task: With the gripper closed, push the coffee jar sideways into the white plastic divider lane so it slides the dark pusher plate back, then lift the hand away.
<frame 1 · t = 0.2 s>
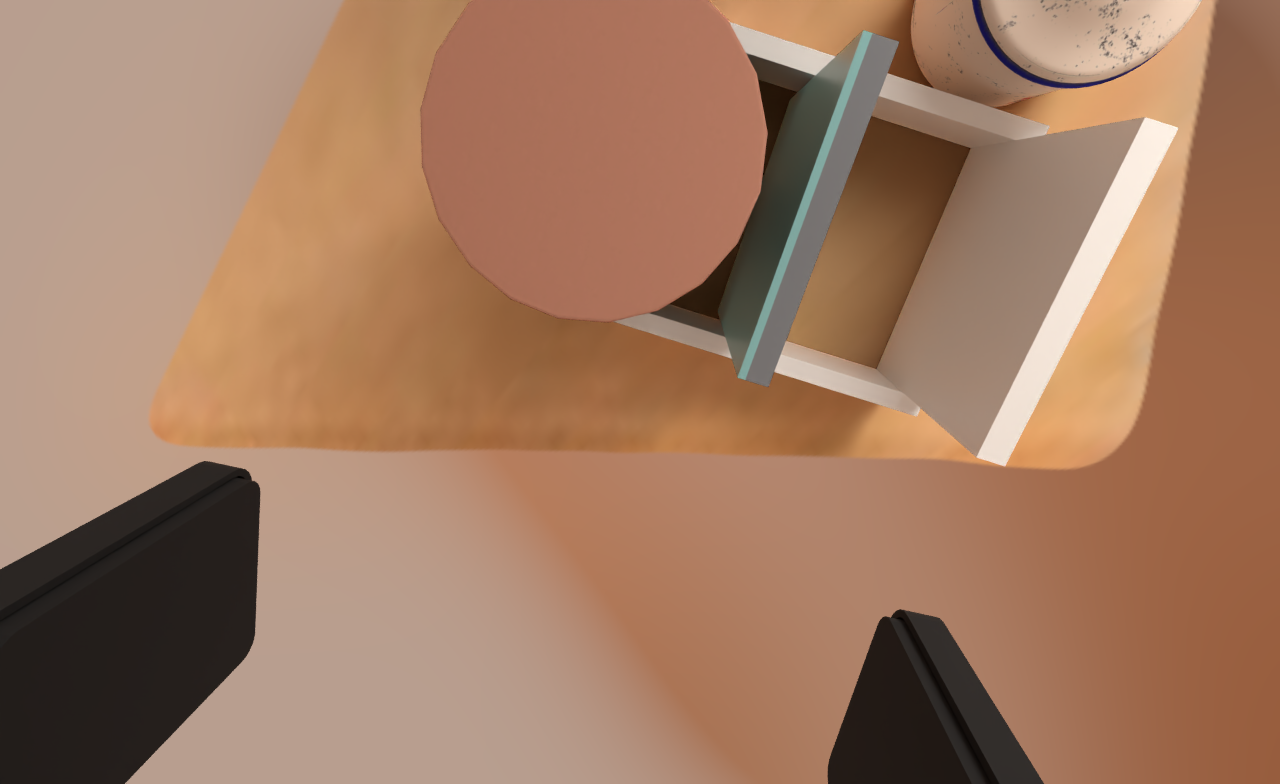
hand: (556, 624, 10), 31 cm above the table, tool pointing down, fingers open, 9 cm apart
lane: (796, 224, 37), on the table
pusher plate: (781, 216, 30), point 8 cm above the table, slide at 0.0 cm
coffee jar: (634, 172, 37), on the table
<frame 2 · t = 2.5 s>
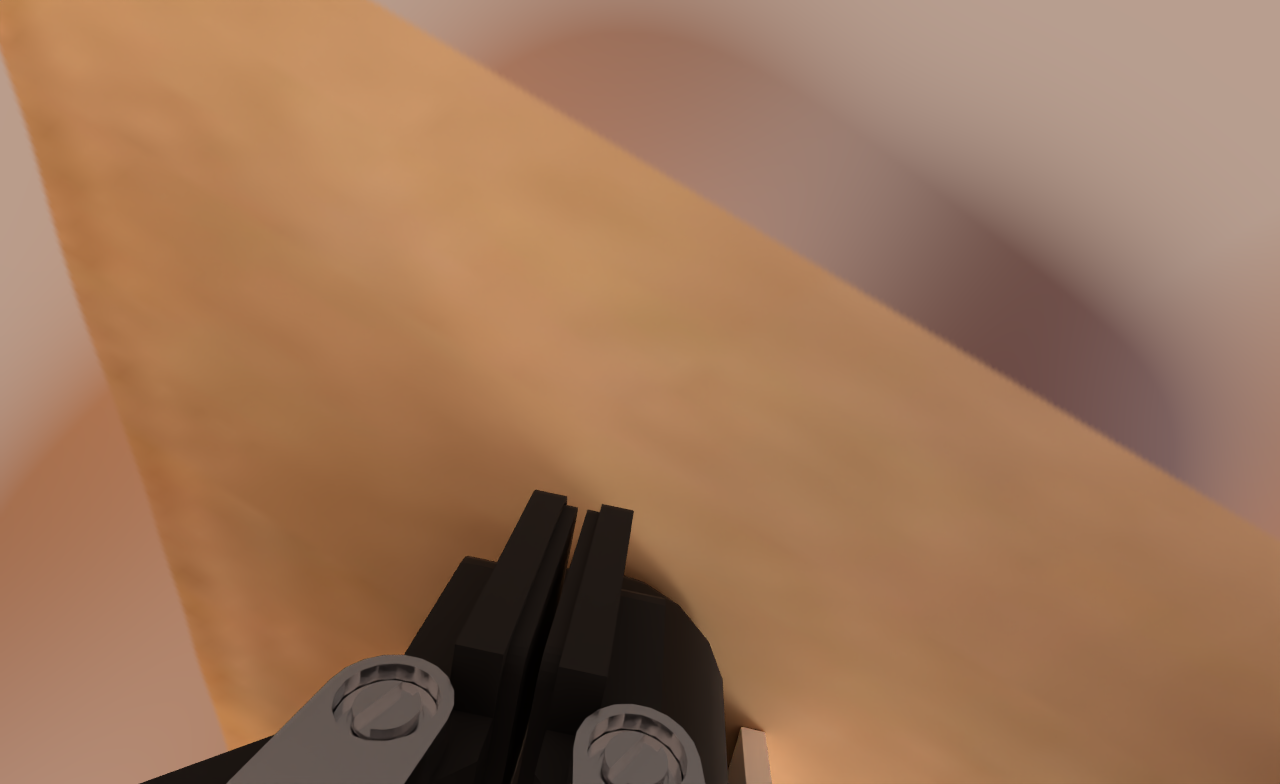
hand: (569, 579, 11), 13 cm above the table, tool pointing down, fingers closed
coffee jar: (591, 667, 27), on the table
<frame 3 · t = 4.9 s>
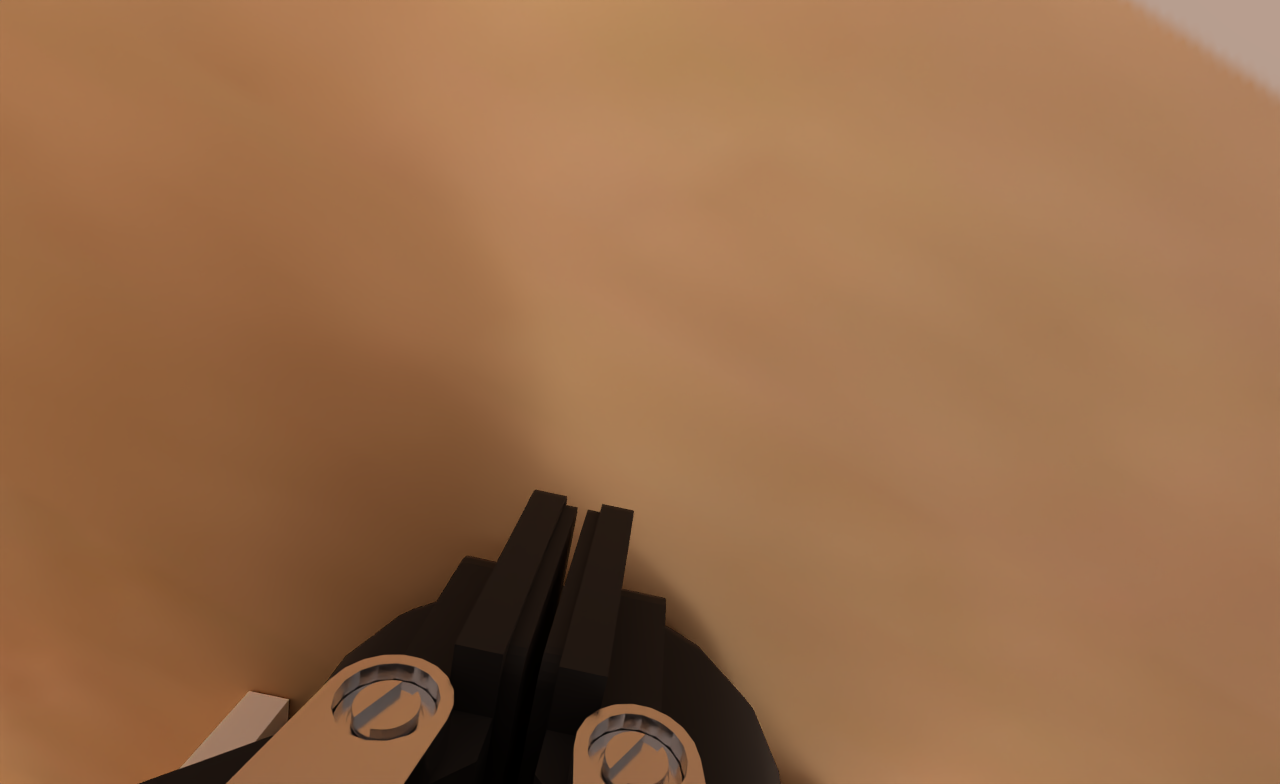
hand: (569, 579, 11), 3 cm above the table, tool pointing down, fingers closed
coffee jar: (551, 746, 16), on the table, touching gripper
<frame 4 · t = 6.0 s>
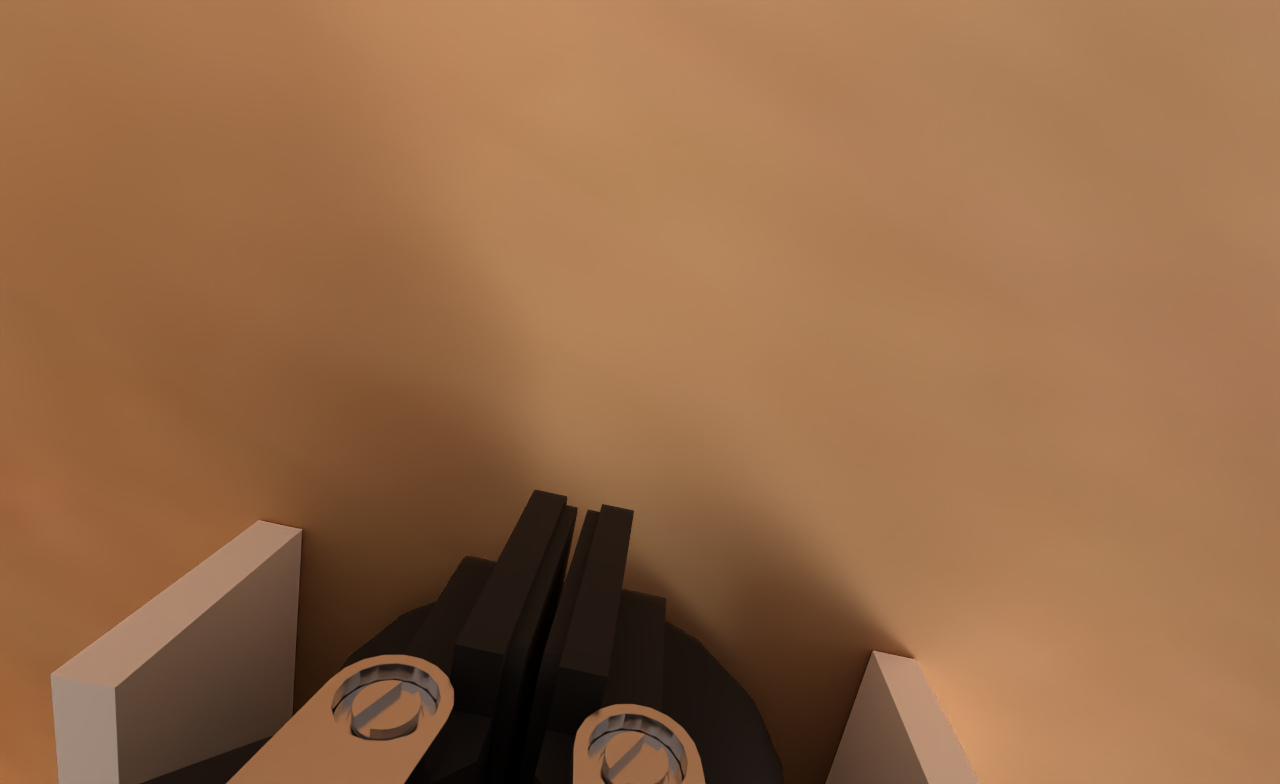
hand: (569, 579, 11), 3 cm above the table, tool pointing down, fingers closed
coffee jar: (556, 744, 16), on the table, touching gripper, pusher plate
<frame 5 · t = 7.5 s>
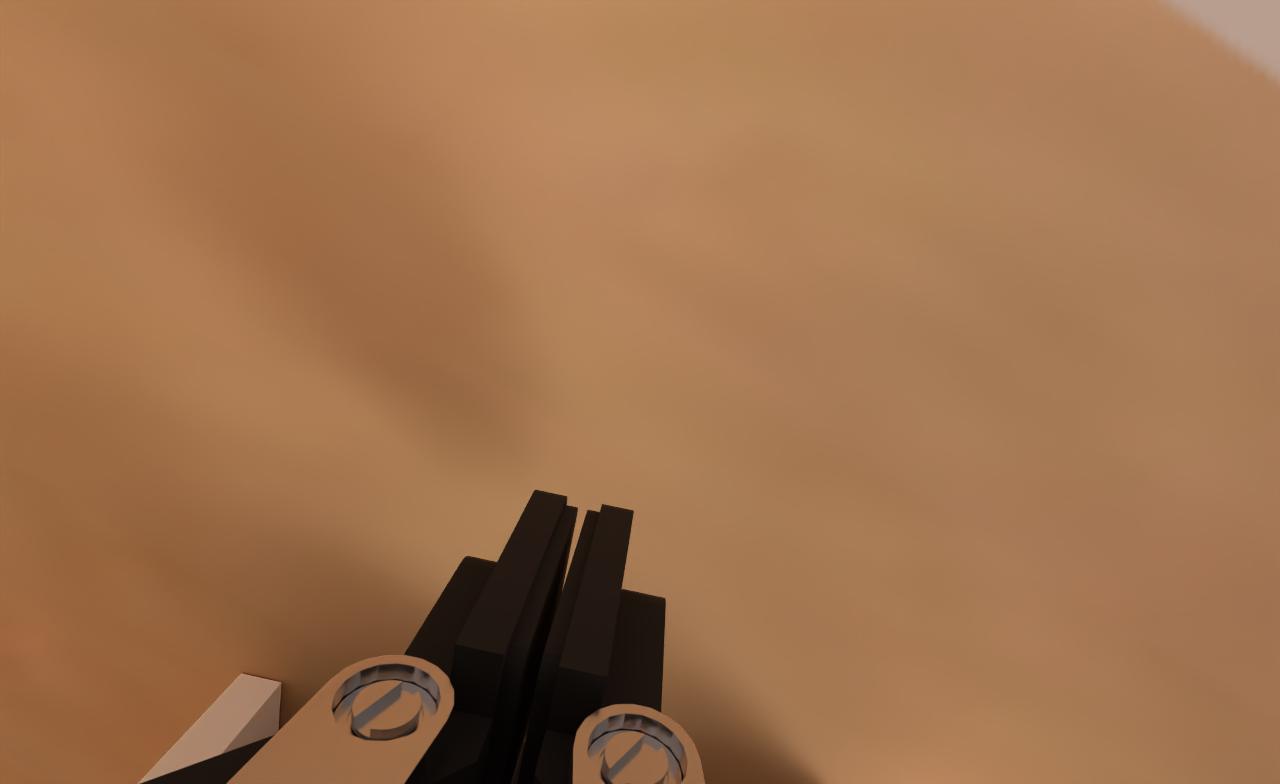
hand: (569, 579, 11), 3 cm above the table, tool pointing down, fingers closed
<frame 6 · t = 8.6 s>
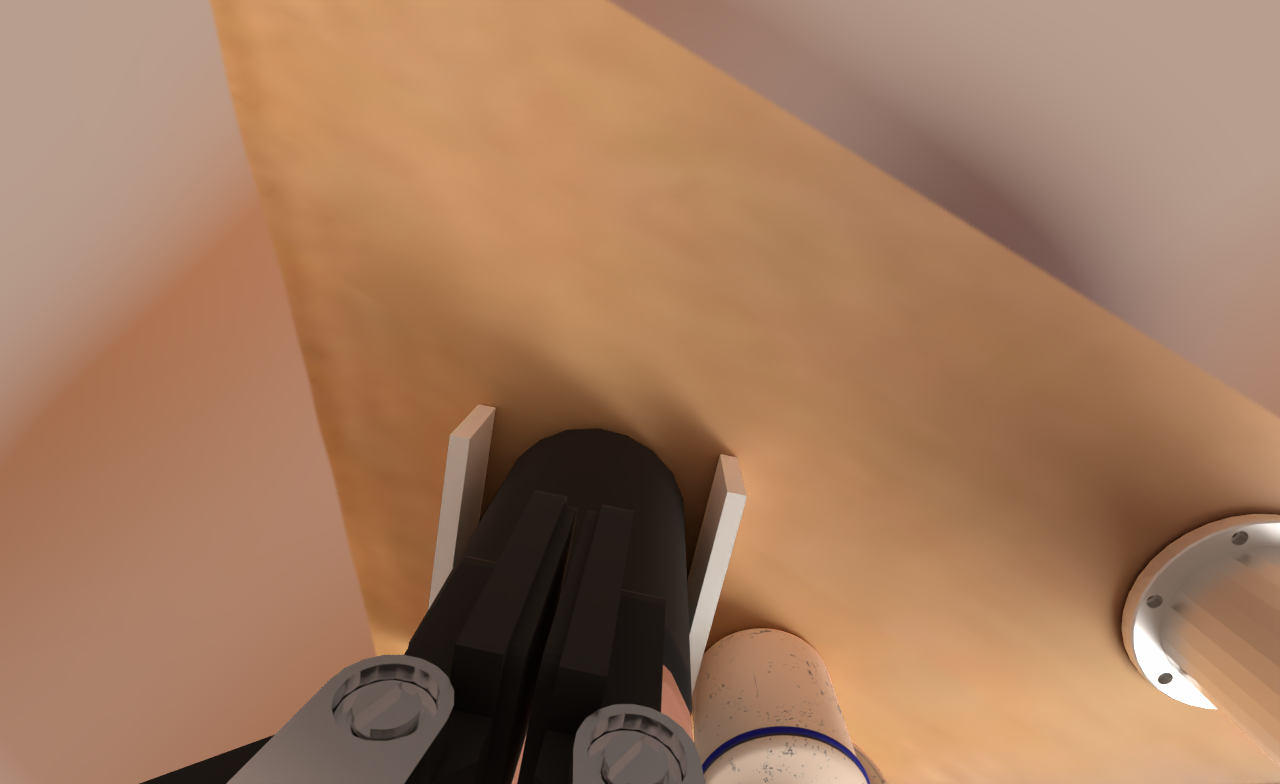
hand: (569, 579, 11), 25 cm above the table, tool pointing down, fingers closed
lane: (581, 562, 40), on the table
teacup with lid: (779, 689, 42), on the table
coffee jar: (594, 504, 39), on the table, touching pusher plate
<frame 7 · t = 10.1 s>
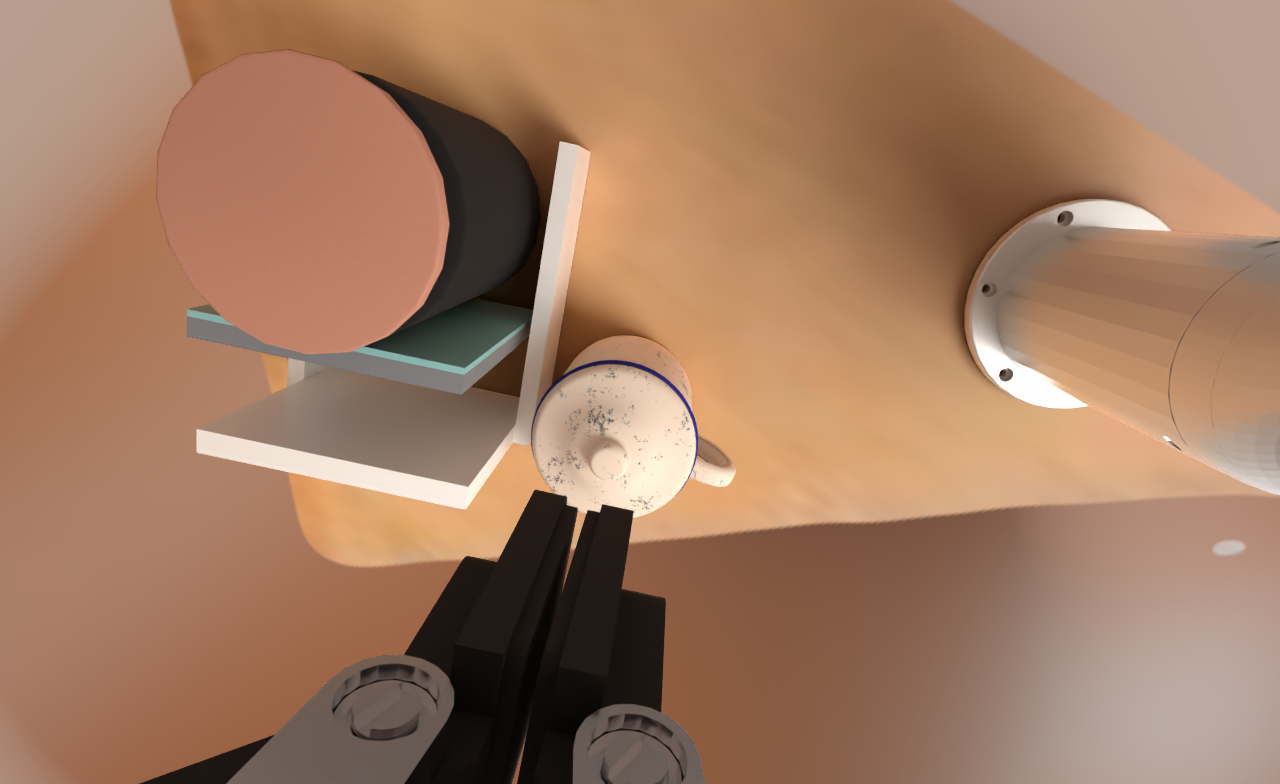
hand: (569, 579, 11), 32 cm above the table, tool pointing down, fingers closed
lane: (452, 269, 42), on the table
pusher plate: (398, 321, 35), point 8 cm above the table, slide at 4.1 cm
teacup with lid: (646, 405, 44), on the table
coffee jar: (461, 208, 41), on the table
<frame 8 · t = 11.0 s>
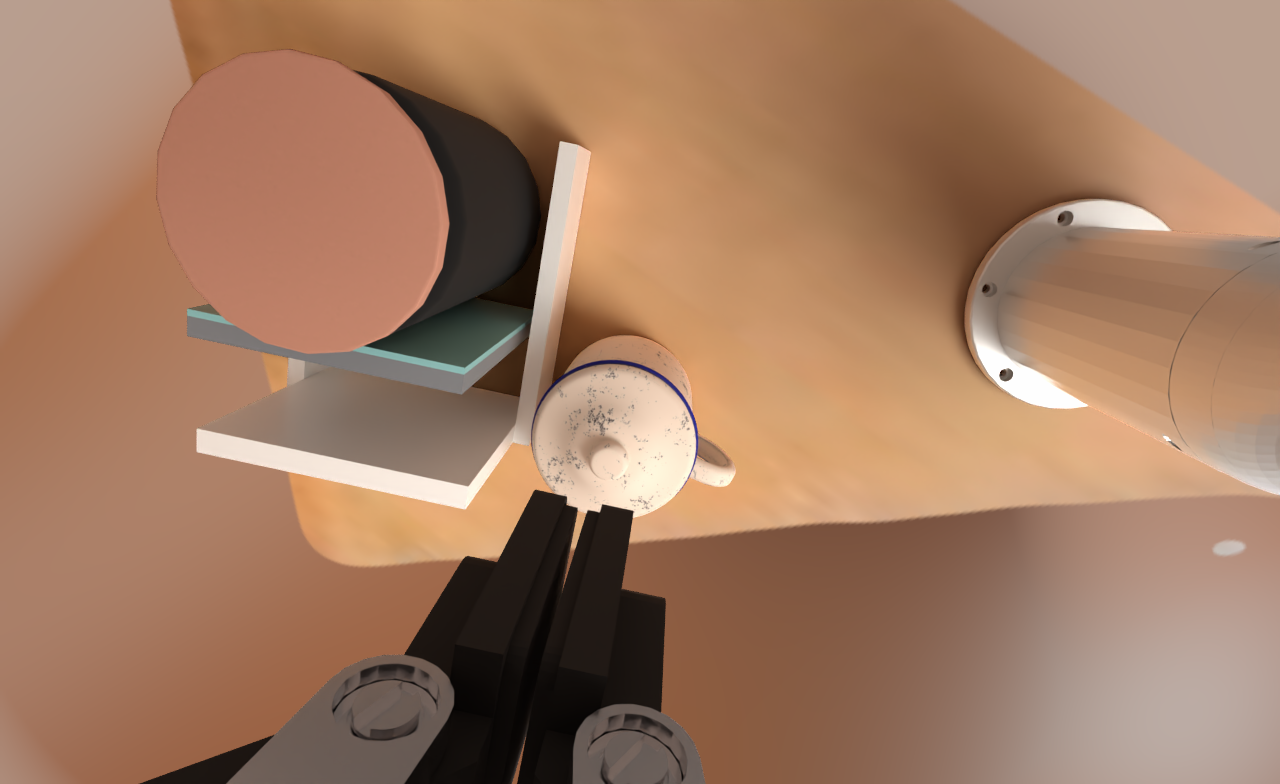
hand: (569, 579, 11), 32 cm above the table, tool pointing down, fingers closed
lane: (452, 269, 42), on the table
pusher plate: (398, 321, 35), point 8 cm above the table, slide at 4.1 cm
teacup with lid: (646, 405, 44), on the table
coffee jar: (461, 207, 41), on the table
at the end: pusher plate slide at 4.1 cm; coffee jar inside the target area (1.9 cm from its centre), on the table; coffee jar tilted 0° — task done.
